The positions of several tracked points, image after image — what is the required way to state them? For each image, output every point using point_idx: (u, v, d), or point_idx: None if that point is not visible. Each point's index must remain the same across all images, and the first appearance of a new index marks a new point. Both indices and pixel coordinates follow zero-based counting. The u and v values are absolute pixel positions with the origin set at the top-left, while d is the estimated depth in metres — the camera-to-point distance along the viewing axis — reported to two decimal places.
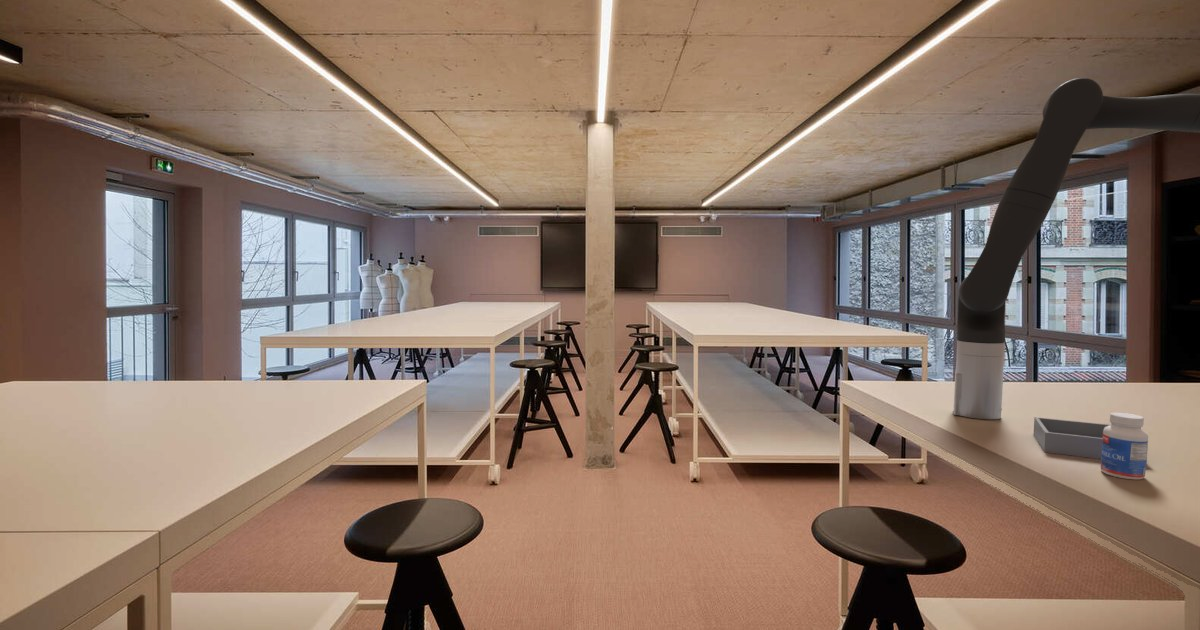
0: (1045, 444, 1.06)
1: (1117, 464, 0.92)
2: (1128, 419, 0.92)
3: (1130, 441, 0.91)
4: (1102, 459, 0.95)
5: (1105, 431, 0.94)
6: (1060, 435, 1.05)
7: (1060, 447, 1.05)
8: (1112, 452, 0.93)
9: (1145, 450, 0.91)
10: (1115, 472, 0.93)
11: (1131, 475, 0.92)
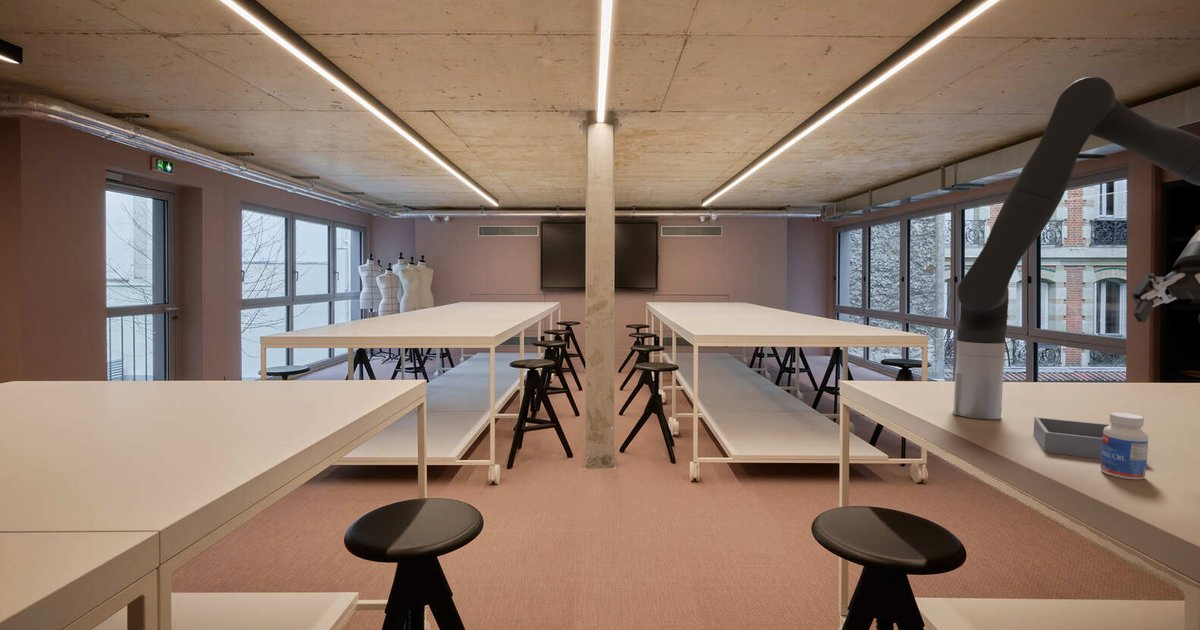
0: (1045, 444, 1.06)
1: (1117, 464, 0.92)
2: (1128, 419, 0.92)
3: (1130, 441, 0.91)
4: (1102, 459, 0.95)
5: (1105, 431, 0.94)
6: (1060, 435, 1.05)
7: (1060, 447, 1.05)
8: (1112, 452, 0.93)
9: (1145, 450, 0.91)
10: (1115, 472, 0.93)
11: (1131, 475, 0.92)
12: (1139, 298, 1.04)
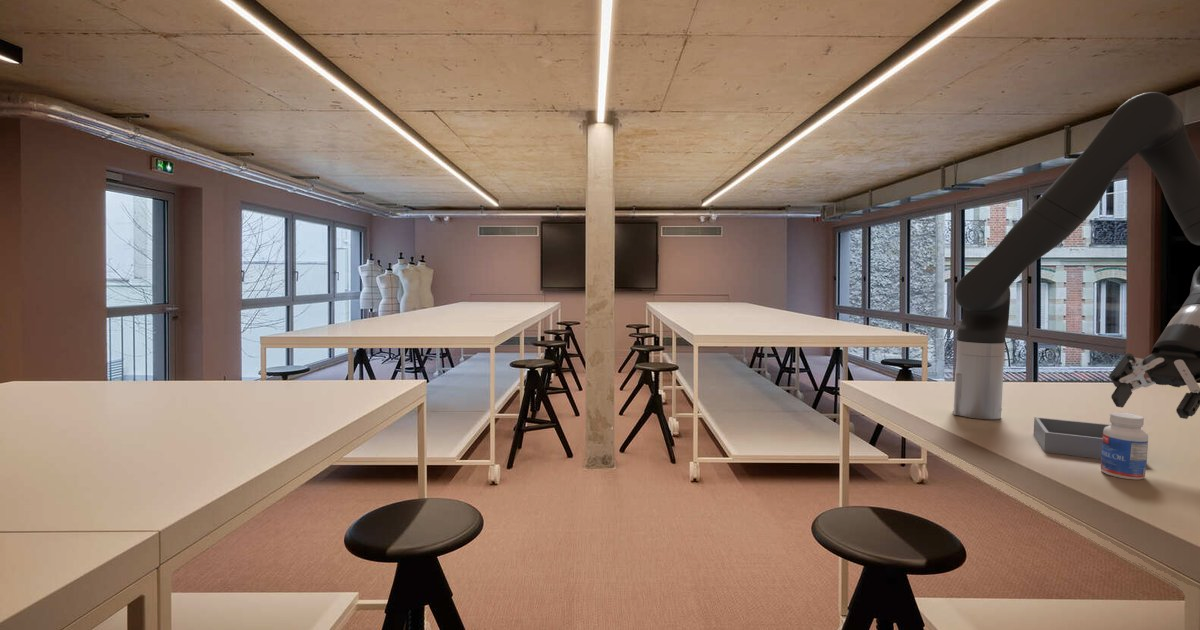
0: (1045, 444, 1.06)
1: (1117, 464, 0.92)
2: (1128, 419, 0.92)
3: (1130, 441, 0.91)
4: (1102, 459, 0.95)
5: (1105, 431, 0.94)
6: (1060, 435, 1.05)
7: (1060, 447, 1.05)
8: (1112, 452, 0.93)
9: (1145, 450, 0.91)
10: (1115, 472, 0.93)
11: (1131, 475, 0.92)
12: (1117, 381, 1.01)
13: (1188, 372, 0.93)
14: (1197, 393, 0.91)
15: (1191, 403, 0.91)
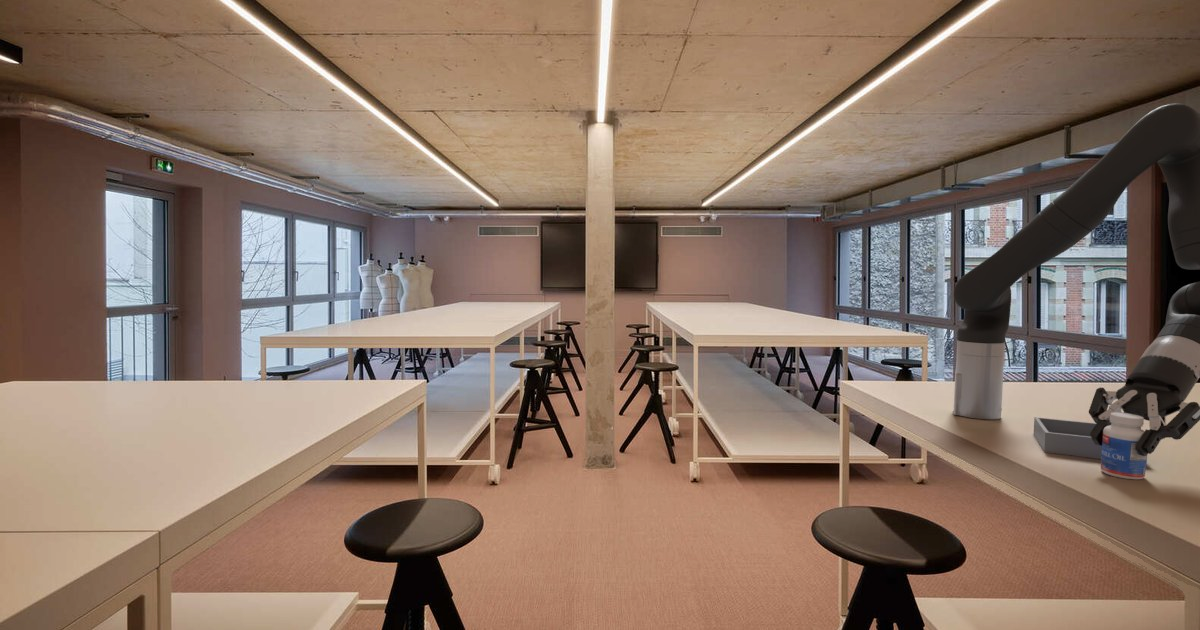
0: (1045, 444, 1.06)
1: (1117, 464, 0.92)
2: (1128, 419, 0.92)
3: (1130, 441, 0.91)
4: (1102, 459, 0.95)
5: (1105, 431, 0.94)
6: (1060, 435, 1.05)
7: (1060, 447, 1.05)
8: (1112, 452, 0.93)
9: None
10: (1115, 472, 0.93)
11: (1131, 475, 0.92)
12: (1099, 416, 0.98)
13: (1155, 408, 0.92)
14: (1156, 430, 0.90)
15: (1150, 440, 0.90)
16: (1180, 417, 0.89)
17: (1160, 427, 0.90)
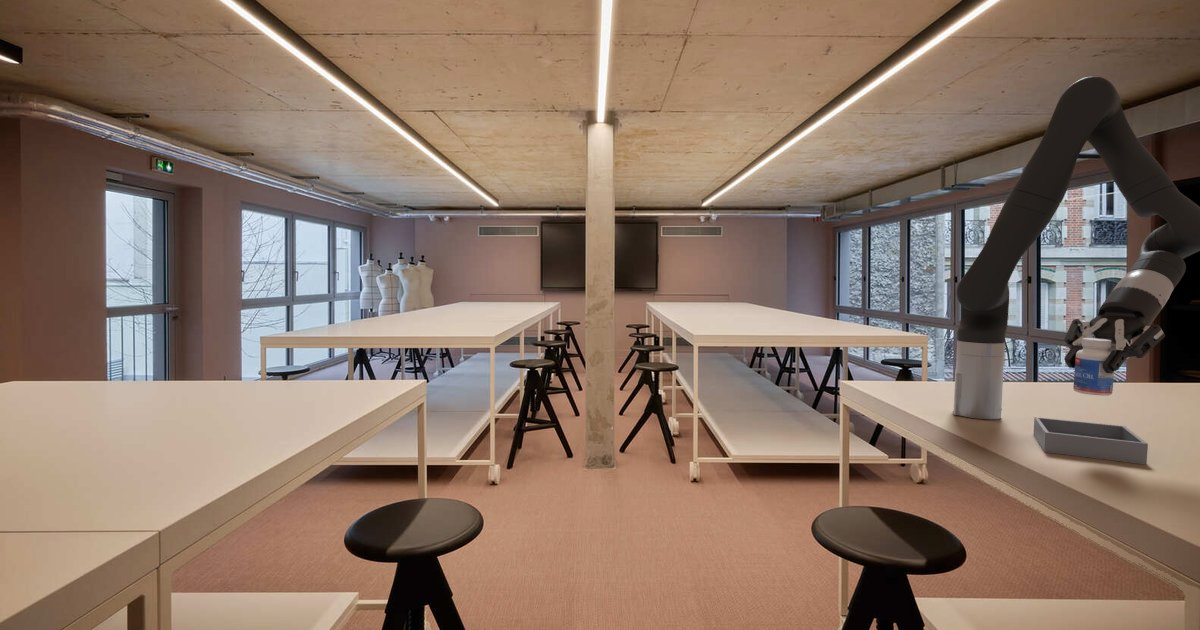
0: (1045, 444, 1.06)
1: (1087, 382, 1.03)
2: (1097, 341, 1.02)
3: (1098, 360, 1.02)
4: (1074, 379, 1.06)
5: (1077, 354, 1.05)
6: (1060, 435, 1.05)
7: (1060, 447, 1.05)
8: (1083, 372, 1.04)
9: None
10: (1085, 389, 1.03)
11: (1099, 391, 1.02)
12: (1073, 343, 1.08)
13: (1122, 331, 1.02)
14: (1121, 350, 1.01)
15: (1115, 359, 1.00)
16: (1142, 338, 0.99)
17: (1125, 347, 1.00)
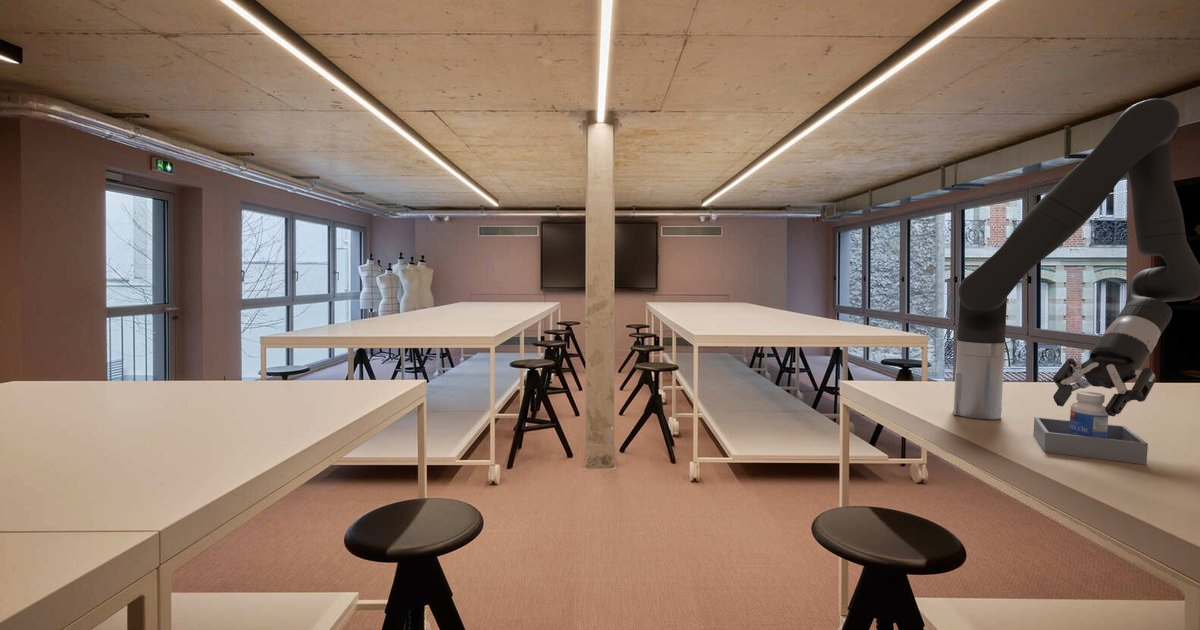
0: (1045, 444, 1.06)
1: (1082, 435, 1.07)
2: (1091, 396, 1.07)
3: (1093, 415, 1.06)
4: (1070, 432, 1.10)
5: (1072, 407, 1.09)
6: (1060, 435, 1.05)
7: (1060, 447, 1.05)
8: (1078, 425, 1.08)
9: (1105, 423, 1.06)
10: None
11: None
12: (1059, 382, 1.14)
13: (1117, 375, 1.06)
14: (1123, 394, 1.04)
15: (1118, 403, 1.04)
16: (1140, 382, 1.03)
17: (1126, 391, 1.04)
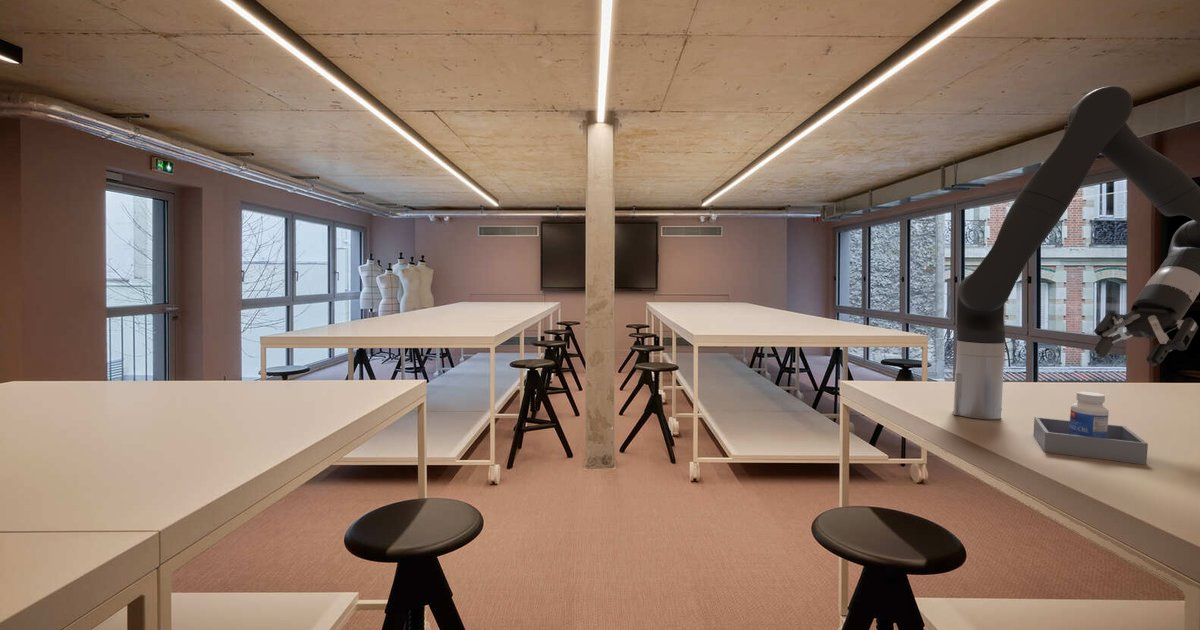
0: (1045, 444, 1.06)
1: (1082, 435, 1.07)
2: (1091, 396, 1.06)
3: (1093, 415, 1.06)
4: (1070, 432, 1.10)
5: (1072, 407, 1.09)
6: (1060, 435, 1.05)
7: (1060, 447, 1.05)
8: (1078, 425, 1.08)
9: (1105, 423, 1.06)
10: None
11: None
12: (1101, 335, 1.18)
13: (1159, 326, 1.10)
14: (1165, 344, 1.08)
15: (1159, 353, 1.08)
16: (1182, 331, 1.07)
17: (1168, 341, 1.07)
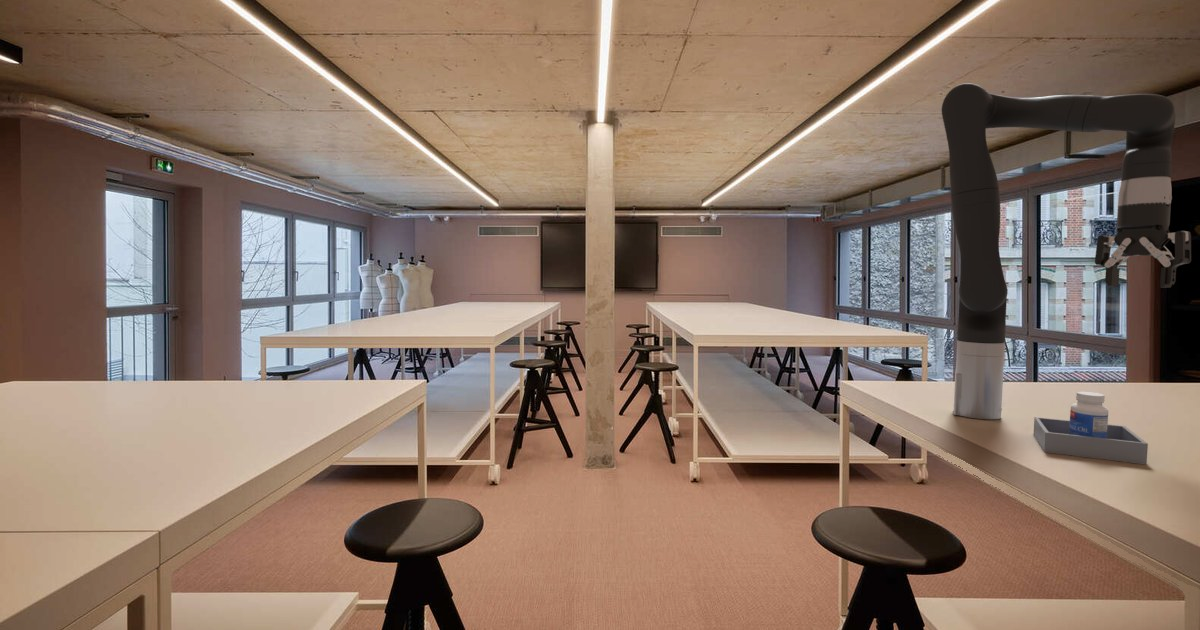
0: (1045, 444, 1.06)
1: (1081, 435, 1.07)
2: (1091, 397, 1.06)
3: (1092, 415, 1.06)
4: (1069, 432, 1.10)
5: (1072, 407, 1.09)
6: (1060, 435, 1.05)
7: (1060, 447, 1.05)
8: (1078, 425, 1.08)
9: (1105, 423, 1.06)
10: None
11: None
12: (1103, 265, 1.19)
13: (1154, 248, 1.10)
14: (1169, 266, 1.08)
15: (1169, 276, 1.09)
16: (1179, 249, 1.07)
17: (1171, 262, 1.08)
